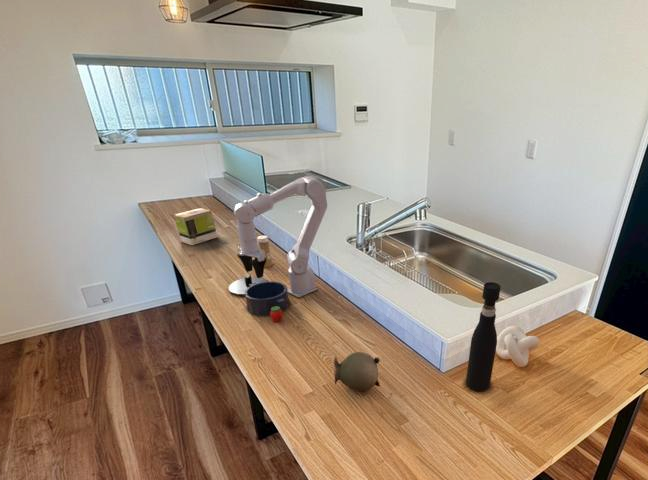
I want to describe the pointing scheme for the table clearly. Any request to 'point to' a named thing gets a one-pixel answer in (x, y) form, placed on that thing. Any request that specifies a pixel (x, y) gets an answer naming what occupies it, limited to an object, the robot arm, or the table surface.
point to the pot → (266, 297)
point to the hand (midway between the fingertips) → (254, 274)
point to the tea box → (195, 226)
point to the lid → (244, 284)
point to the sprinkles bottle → (265, 249)
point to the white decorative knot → (516, 345)
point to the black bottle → (483, 342)
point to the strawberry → (276, 314)
